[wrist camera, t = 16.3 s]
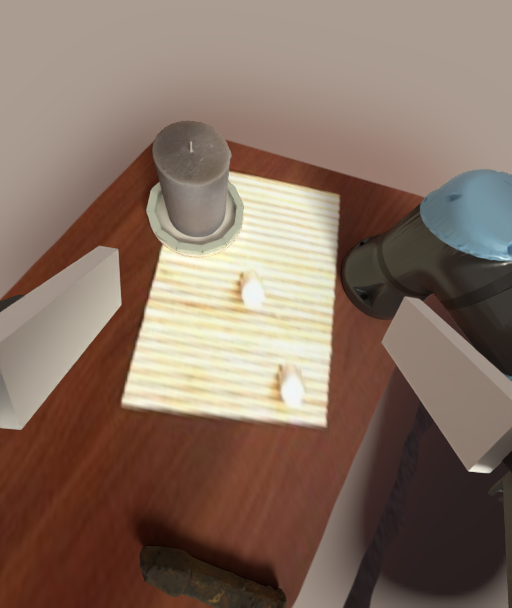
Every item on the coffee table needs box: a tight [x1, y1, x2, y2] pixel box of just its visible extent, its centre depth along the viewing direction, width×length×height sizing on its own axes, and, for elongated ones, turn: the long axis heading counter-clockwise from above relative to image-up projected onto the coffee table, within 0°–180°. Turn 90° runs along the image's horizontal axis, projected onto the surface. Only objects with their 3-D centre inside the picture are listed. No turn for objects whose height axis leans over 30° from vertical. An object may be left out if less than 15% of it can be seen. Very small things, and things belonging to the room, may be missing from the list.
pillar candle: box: [152, 121, 231, 237], centre depth 41 cm, size 10×10×15 cm
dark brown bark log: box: [139, 546, 287, 608], centre depth 34 cm, size 19×4×5 cm, turn 64°
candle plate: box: [146, 181, 244, 257], centre depth 48 cm, size 16×16×2 cm
